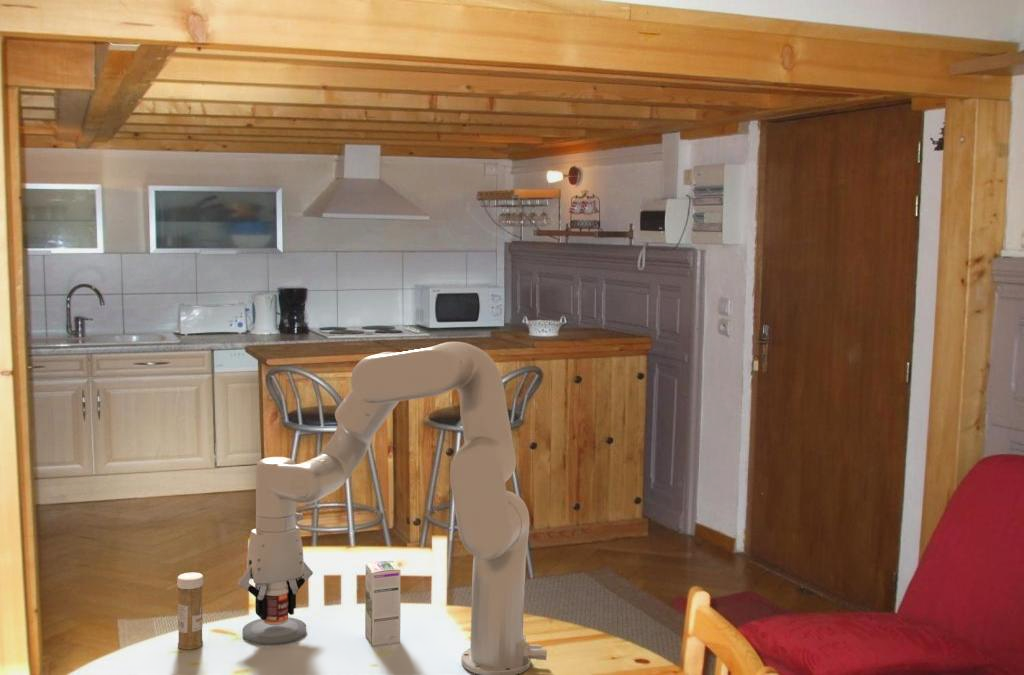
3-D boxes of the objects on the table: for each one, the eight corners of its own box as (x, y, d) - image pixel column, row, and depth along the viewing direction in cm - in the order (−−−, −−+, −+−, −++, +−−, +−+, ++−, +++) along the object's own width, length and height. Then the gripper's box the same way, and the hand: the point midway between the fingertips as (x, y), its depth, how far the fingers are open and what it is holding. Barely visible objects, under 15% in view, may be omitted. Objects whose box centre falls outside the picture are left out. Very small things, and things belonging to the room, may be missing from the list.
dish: (314, 624, 204) (314, 618, 204) (294, 647, 192) (294, 641, 192) (256, 619, 206) (256, 614, 206) (232, 642, 194) (232, 636, 194)
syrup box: (401, 643, 196) (402, 568, 195) (370, 646, 194) (372, 571, 193) (393, 632, 201) (394, 559, 200) (363, 635, 199) (364, 562, 198)
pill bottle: (282, 626, 196) (282, 583, 195) (258, 624, 197) (258, 581, 196) (292, 618, 201) (292, 576, 200) (269, 615, 202) (269, 573, 201)
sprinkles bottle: (204, 648, 191) (205, 577, 189) (179, 652, 189) (179, 580, 187) (200, 639, 195) (200, 570, 194) (175, 643, 193) (175, 573, 192)
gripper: (310, 512, 205) (310, 601, 206) (226, 523, 196) (226, 616, 197) (325, 521, 199) (324, 613, 200) (238, 533, 189) (238, 629, 191)
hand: (275, 614), depth 199 cm, fingers closed on pill bottle, 4 cm apart
